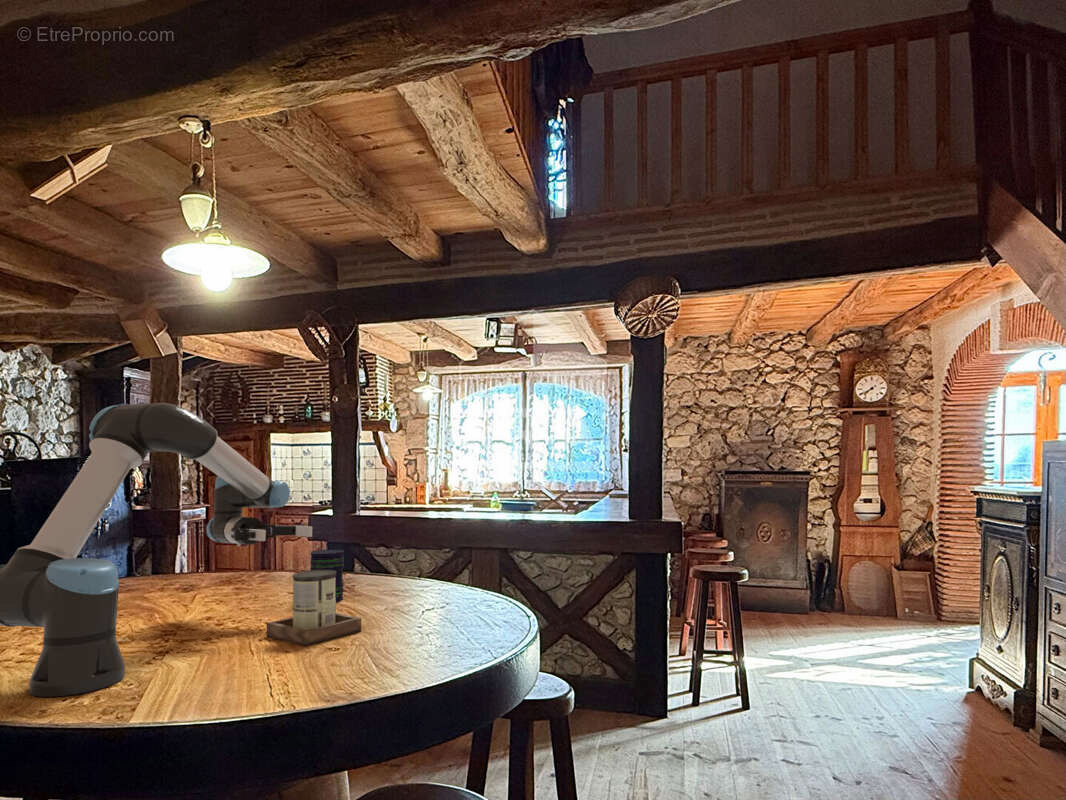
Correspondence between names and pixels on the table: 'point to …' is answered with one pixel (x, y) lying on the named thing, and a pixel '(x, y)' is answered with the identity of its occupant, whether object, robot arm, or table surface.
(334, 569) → the dark barrel
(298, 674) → the table surface
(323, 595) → the coffee can
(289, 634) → the wooden tray
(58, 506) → the robot arm
